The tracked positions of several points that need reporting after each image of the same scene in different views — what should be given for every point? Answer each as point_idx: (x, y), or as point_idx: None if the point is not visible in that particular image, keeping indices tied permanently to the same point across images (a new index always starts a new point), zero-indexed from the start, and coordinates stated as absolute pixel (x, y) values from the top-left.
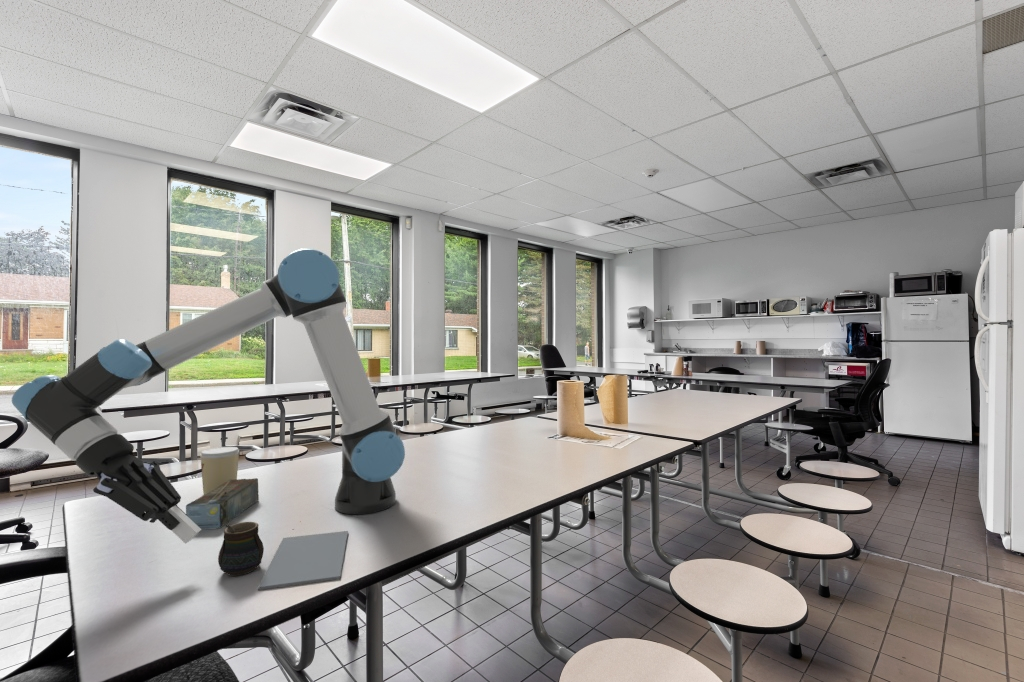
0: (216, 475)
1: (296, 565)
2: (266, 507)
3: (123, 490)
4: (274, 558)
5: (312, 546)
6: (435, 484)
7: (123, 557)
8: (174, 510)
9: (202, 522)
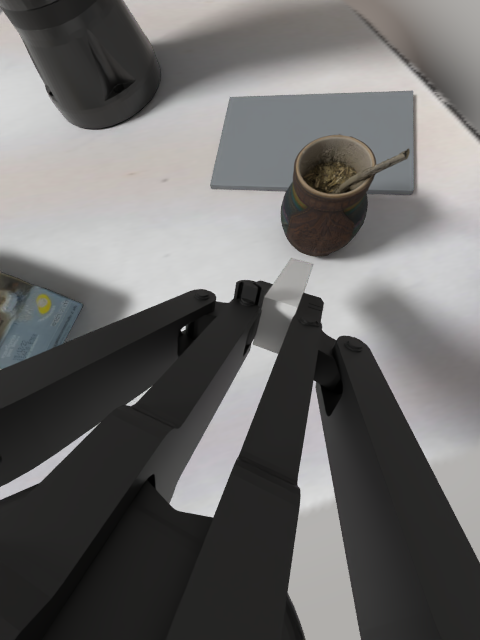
0: None
1: None
2: (16, 239)
3: (476, 567)
4: None
5: (274, 137)
6: None
7: None
8: (292, 298)
9: (53, 335)
